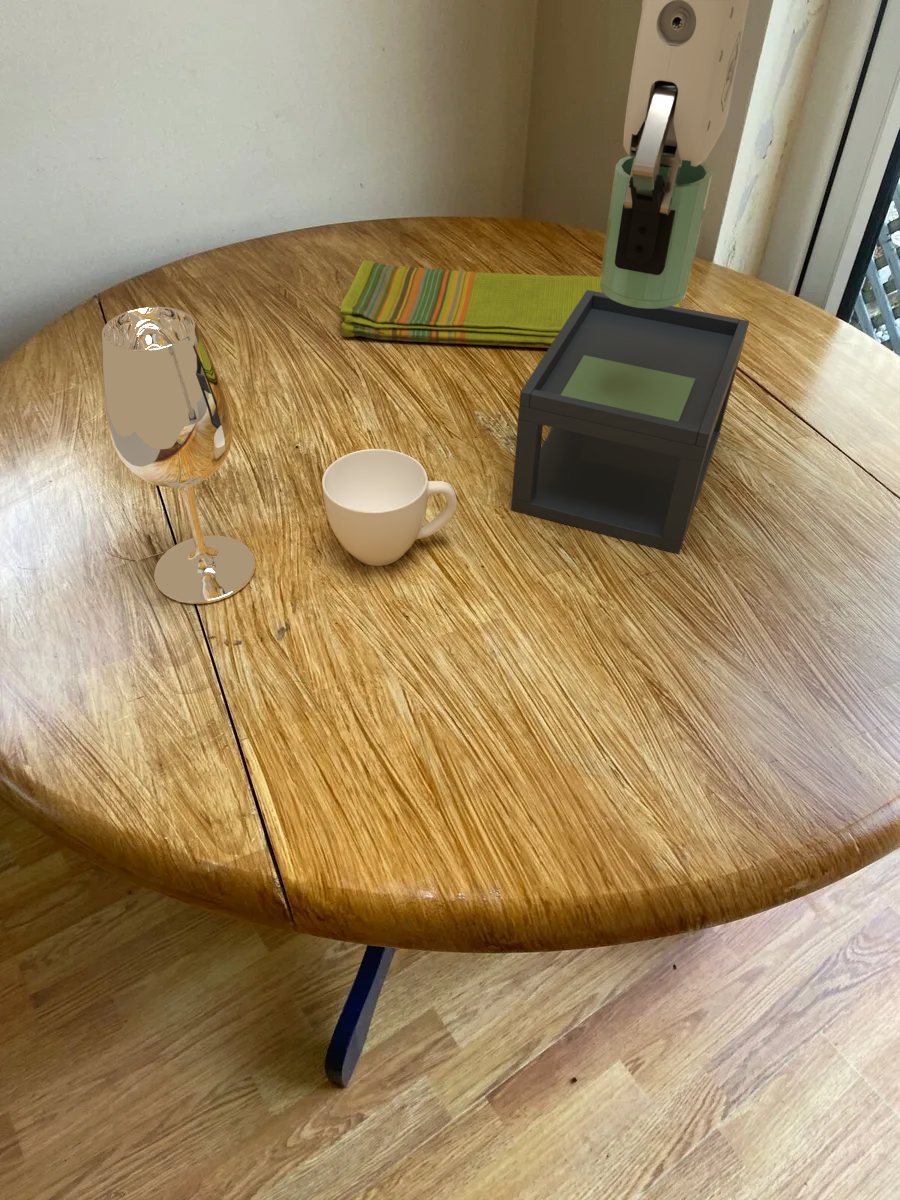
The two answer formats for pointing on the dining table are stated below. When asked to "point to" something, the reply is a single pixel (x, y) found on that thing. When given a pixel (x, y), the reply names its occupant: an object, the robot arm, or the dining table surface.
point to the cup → (381, 504)
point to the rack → (625, 419)
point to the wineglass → (173, 438)
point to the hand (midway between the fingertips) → (651, 246)
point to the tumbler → (682, 246)
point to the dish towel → (460, 305)
